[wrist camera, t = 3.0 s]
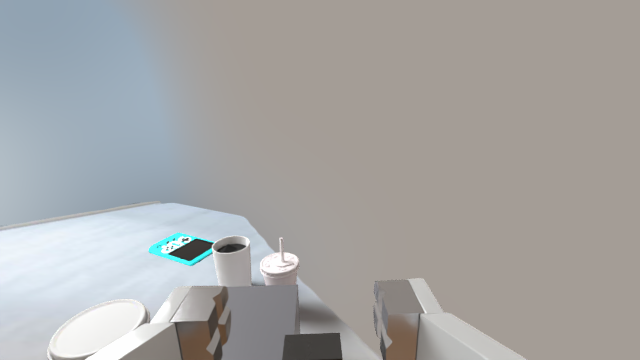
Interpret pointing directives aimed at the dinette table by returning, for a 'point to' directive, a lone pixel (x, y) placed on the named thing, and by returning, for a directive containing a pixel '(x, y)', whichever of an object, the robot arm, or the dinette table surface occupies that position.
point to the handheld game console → (183, 248)
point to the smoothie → (280, 268)
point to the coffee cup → (96, 329)
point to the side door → (312, 347)
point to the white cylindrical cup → (232, 261)
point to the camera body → (261, 321)
